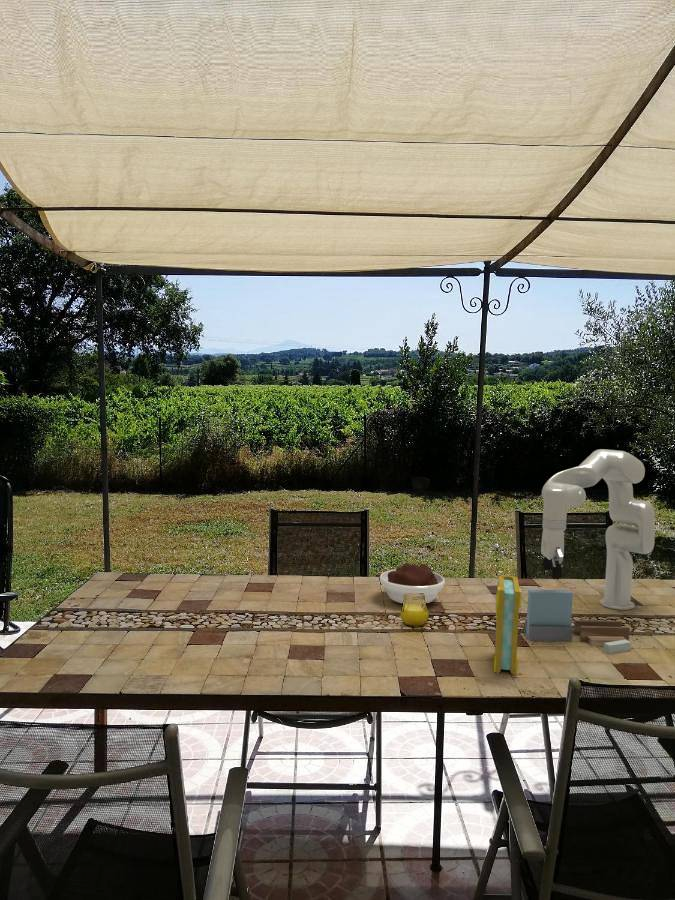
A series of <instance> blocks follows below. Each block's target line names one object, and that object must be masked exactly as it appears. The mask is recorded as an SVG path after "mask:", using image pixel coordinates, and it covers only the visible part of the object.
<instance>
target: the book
mask: <svg viewBox="0 0 675 900" xmlns="http://www.w3.org/2000/svg"><path fill="white" fill-rule="evenodd" d="M519 584H520V583H519V579H518V577H517V576H513V575H505V574H503V575H499V576H498V584H497V592H496V595H495V619H496V621H495V623H496V624H495V626H496V627H495V641H494V642H495V643H494V644H495V645H494V657H493V658H494V659H493V661H494V662H493V673H495V672H501V670H506V671H510V672H511V673H514V674H517V675H518V666H519V657H517V653H518V639H519V638H518V637H519V635H518V633H519V618H520V617H519V616H520V615H519V614H520V609H521V607H522V588H520V585H519ZM514 674H513V675H514Z"/></svg>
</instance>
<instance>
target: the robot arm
mask: <svg viewBox="0 0 675 900" xmlns="http://www.w3.org/2000/svg"><path fill="white" fill-rule="evenodd" d="M645 472H646V468H645V466H644V463H643V462H642V461H641V460H640V459H638V458H637V457H636V456H634V455H632V454H631V453H630V452H626V451H624V450H615V449H604V448H602V449H601V448H600V449H596V450H594V451H592V453H591V454H590V455H589V456H587V457H586V458H585V459H584V460H583V461H582V462H581V463H580V464H579V465H578V466H575V467H572V468H571V467H570V468H568V469H565V470H562V471H559V472H557V473H555V474H553V475H552V476H551V477H550V478H549V479H548V480H547V481H546V482H545V484H544V485H543V486H542V490H541V498H542V500H543V507H542V509H543V510H542V526H541V527H542V535H541V545H540V548H541V549H540V553H541V555H542V570H543V571H551V578H552V579H553V580H554V579H555V580H557V579H562V578H563V567H564V566H563V563H564V555H565V530H567V517H568V508H578V507H581V506H582V505H583V504H584V503H585V501H586V497H587V495H586V491H585V488H590V487H593V486H595V485H596V484H598V483H599V482H600V481H601V480H602V479H603V480H604V482H605V483H606V484H607V489H608V509H609V513H608V514H609V517H610V519H611V521H613V522H616V524H612V525H609V526H608V527H607V529H606V530H605V544H606V565H605V579H604V580H605V581H604V582H605V583H604V593H603V594H604V595H603V596H604V597H602V598H600V599H599V604H600V605H601V606H603V607H605V608H607V609H613V610H620V611H625V610H626V611H630V610H633V609H634V608H635V605H636V604H635V603H634V602H633V601H631V600H632V599H631V598H632V585H633V571H634V569H633V568H634V561H633V558H632V556H631V553H636V554H640V555H647V554H650V553H652V552H653V550H654V547H655V539H656V538H655V533H656V531H655V527H656V526H655V524H656V523H655V509H654V507H653V505H652V504H651V503H650V502H648V501H645V500H640V499H635V497H634V488H633V484H638V483H640V482H641V481H643V479H644V477H645V474H646V473H645ZM617 523H619V524H617Z"/></svg>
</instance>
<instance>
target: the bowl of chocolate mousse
mask: <svg viewBox="0 0 675 900" xmlns="http://www.w3.org/2000/svg"><path fill="white" fill-rule="evenodd" d="M379 582H380V584H381V585H382V587H383V588H384V590H385V591H386V593H387V596H388V598H389V599H391V600H392V601H393V602H396V603H398V604H402V603H403V595H404V594H406V593H424V595H425V600H426V603H427V604H429V603H430V604H431V602H434V600H435V598H436V597H437V595H438V594H439V592H440V591H441V590H442V589H443V588H444V586H445V585H446V584H445V583H446V580H445V578H444V576H442V575H441V574H439V573H437V572H434V571H432V569H431V568H430V566H428V564H425V563H423V564H420V565H418V564H417V565H416V564H411V563H409V562H405V563H403V564H402V565H401V566H397V567H396V568H395V569H391V570H386V571H384V572H382V573H381V574H380V576H379Z"/></svg>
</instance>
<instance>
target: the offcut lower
mask: <svg viewBox="0 0 675 900" xmlns="http://www.w3.org/2000/svg"><path fill="white" fill-rule="evenodd" d="M619 640H627V639H625V638H624V637H618V636H588V637H587V642H586V643H587V644H588V645H589V646H590V647H591V648H593V646H596V647H598V648H601V647H603V648H604V643H606V642H613V641H619Z"/></svg>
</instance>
